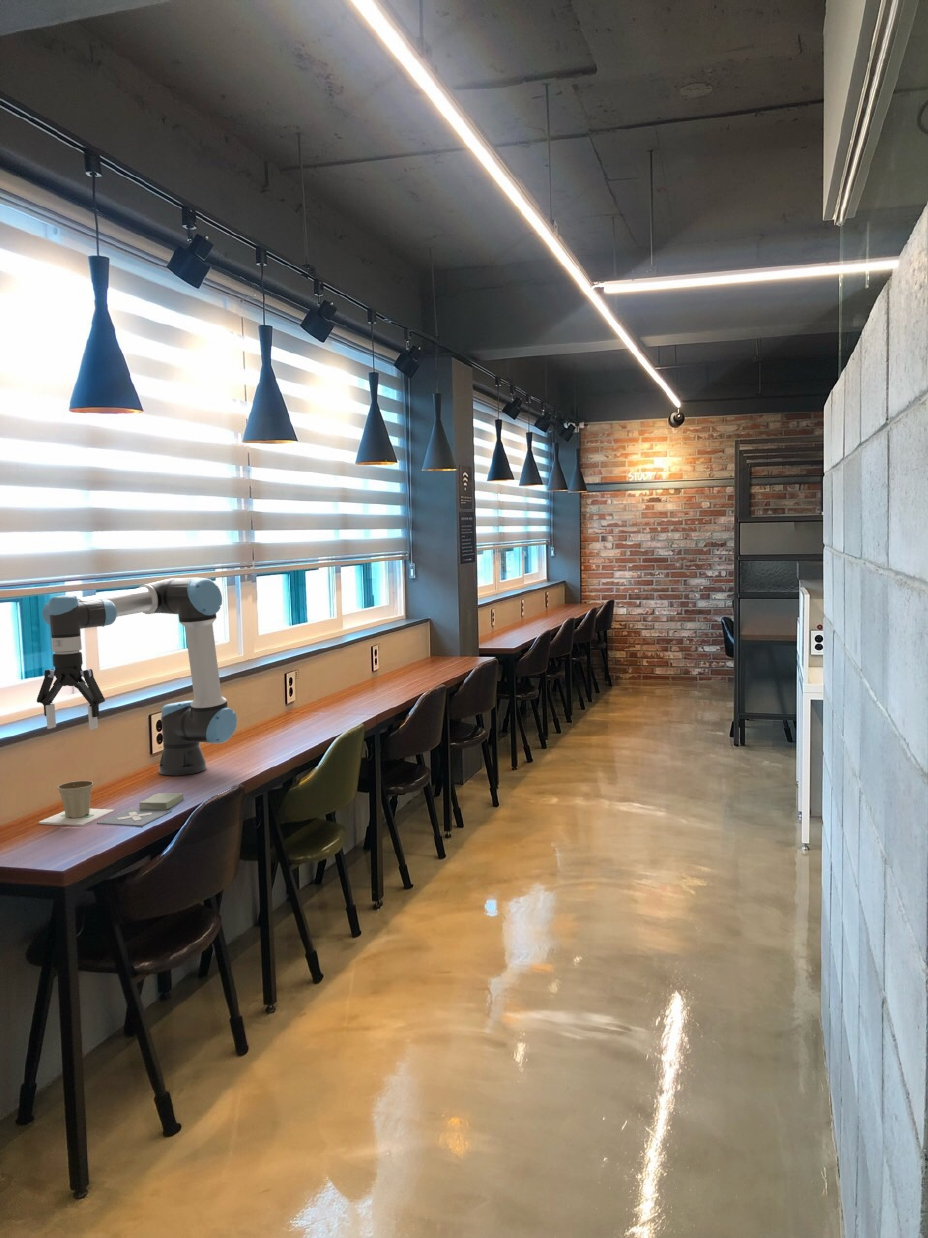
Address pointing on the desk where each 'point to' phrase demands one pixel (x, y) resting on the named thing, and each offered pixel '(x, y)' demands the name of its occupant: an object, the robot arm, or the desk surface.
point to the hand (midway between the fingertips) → (72, 728)
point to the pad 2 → (134, 817)
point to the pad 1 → (62, 819)
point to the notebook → (161, 801)
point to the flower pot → (76, 798)
